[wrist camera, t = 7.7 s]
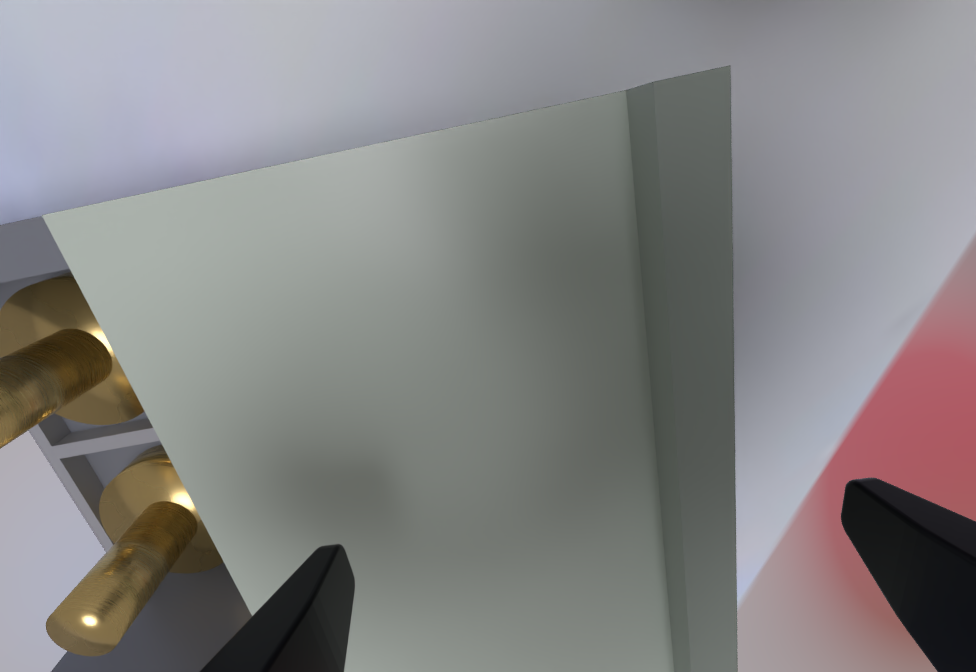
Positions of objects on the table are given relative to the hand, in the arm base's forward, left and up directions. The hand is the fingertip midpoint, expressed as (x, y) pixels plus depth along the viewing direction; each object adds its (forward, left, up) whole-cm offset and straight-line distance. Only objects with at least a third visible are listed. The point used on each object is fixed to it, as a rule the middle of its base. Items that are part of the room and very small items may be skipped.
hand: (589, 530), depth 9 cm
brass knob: (+16, +5, -11) cm, 20 cm away
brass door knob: (+16, -2, -11) cm, 20 cm away
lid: (+3, +1, -4) cm, 5 cm away
